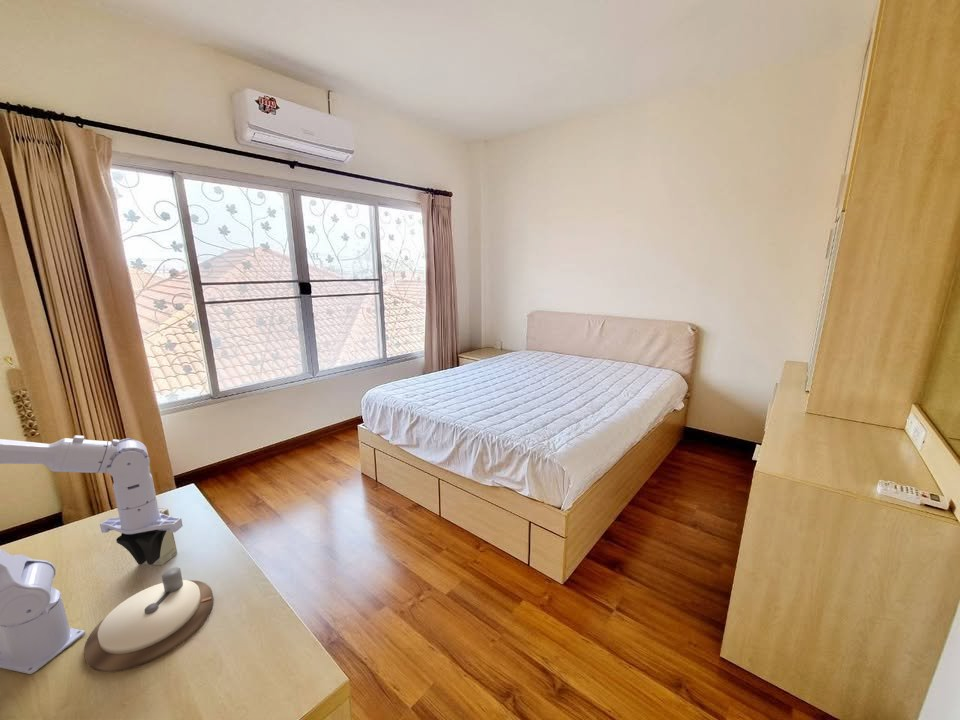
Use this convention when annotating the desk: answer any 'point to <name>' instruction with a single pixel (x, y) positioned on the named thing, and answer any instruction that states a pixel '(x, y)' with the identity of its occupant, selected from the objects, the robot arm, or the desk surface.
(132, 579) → the desk surface
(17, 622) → the robot arm
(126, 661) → the dial base
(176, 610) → the dial
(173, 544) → the skincare box
